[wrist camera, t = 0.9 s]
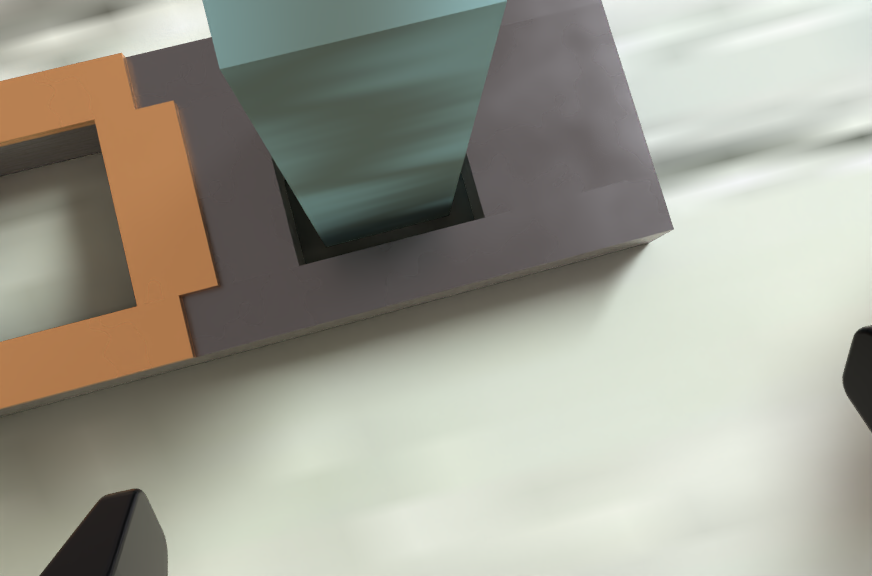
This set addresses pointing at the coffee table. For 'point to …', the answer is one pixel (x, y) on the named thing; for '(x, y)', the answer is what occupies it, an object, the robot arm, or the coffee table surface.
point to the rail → (271, 212)
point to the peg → (360, 100)
